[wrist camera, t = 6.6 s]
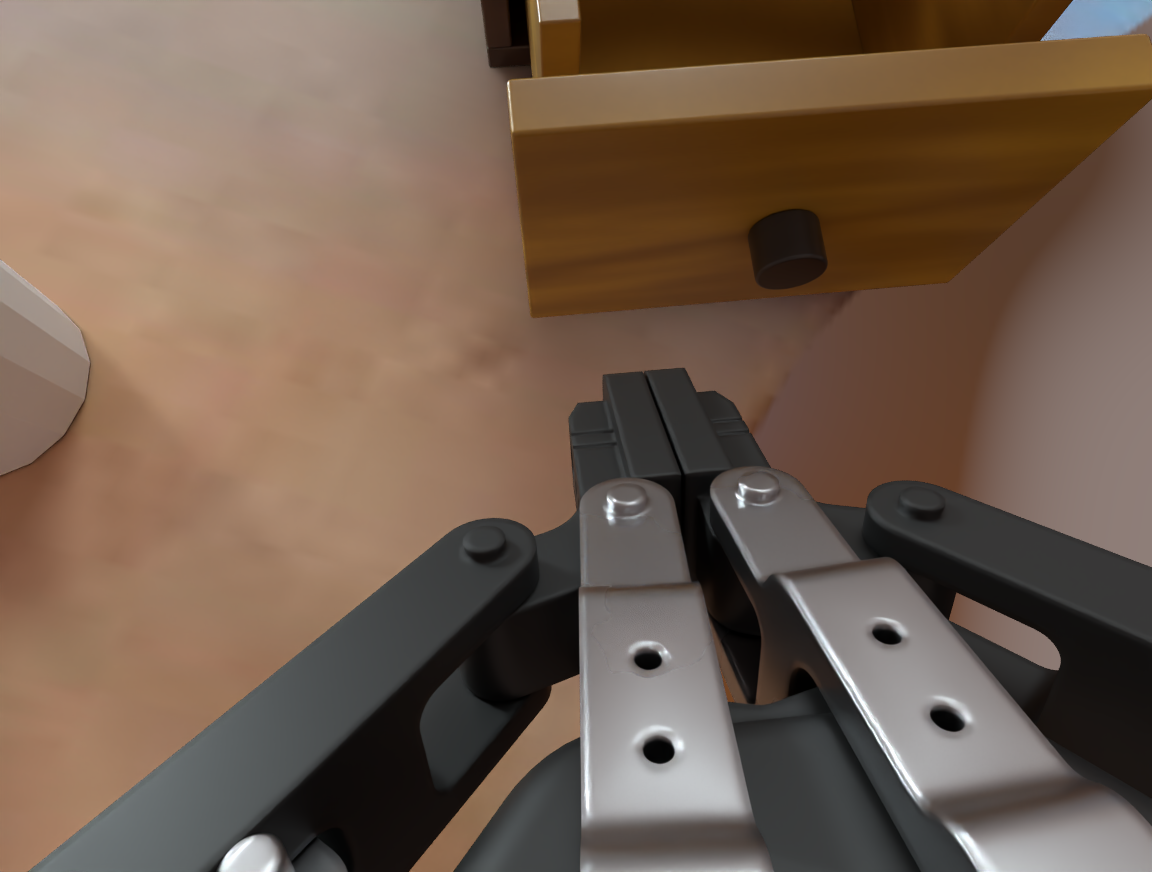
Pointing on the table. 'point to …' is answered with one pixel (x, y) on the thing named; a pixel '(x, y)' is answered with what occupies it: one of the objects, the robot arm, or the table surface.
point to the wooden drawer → (793, 141)
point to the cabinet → (506, 32)
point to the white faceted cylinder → (36, 371)
